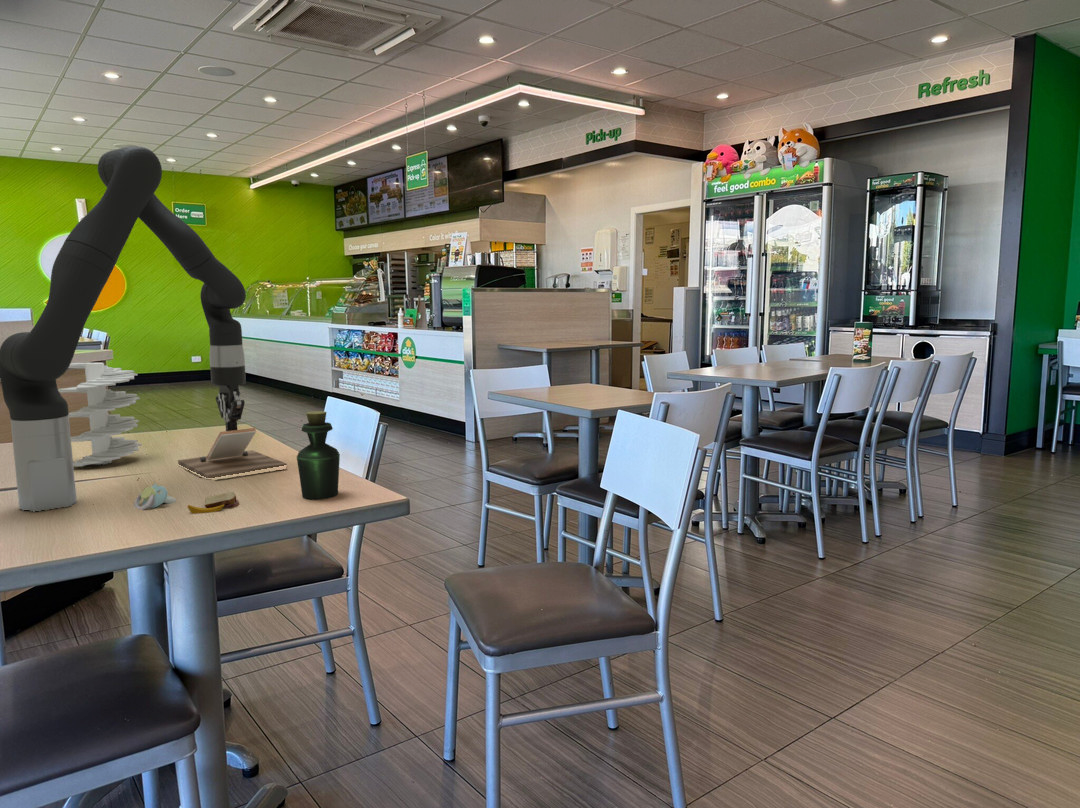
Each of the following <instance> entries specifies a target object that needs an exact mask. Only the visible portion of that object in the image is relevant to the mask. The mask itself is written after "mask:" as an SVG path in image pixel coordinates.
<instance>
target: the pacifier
mask: <svg viewBox="0 0 1080 808" xmlns="http://www.w3.org/2000/svg"><path fill="white" fill-rule="evenodd" d="M159 492H160V493H159ZM142 499H143V500H142ZM141 500H142V502H141V503H142V504H141V506H140V501H141ZM174 503H175V504H176V503H177V499H176V498H175V497H173V496H171V495H168V490H167V488H166V487H165V486H162V485H157V483H154V484H153V485H152V486H147V487H145V489H143V490H142V492H141V493H140V494H138V495H137V497H136V498H135V500H134V503H133V507H134V508H135V509H137V510H140V511H145V510H146V509H153V508H154V509H155V508H157V507H159V506H160V505H162V504H166V505H171V504H174Z"/></svg>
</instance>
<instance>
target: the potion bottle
mask: <svg viewBox="0 0 1080 808" xmlns="http://www.w3.org/2000/svg"><path fill="white" fill-rule="evenodd" d="M327 413H328V412H327V411H326V410H325V411H324V410H323V411H321V410H315V411H314V410H312V411H307V412H306V413H305V414H306V418H307V421H308V422H307V423H304V424H302V427H301V432H302V433H306V434H307V438H308V441H309V444H308V445H307V446H305V447H304V448H302V449H300V450H299V451H298V452H297V455H296V461H297V469H298V477H299V483H300V489H301V496H302V498H303V499H305V500H309V501H318V500H321V501H322V500H328V499H331V498H334V497H337V496H338V495H339V479H340V478H339V477H340V476H339V475H340V461H341V458H340V457H341V454H340V452H339V450H338V449H337V448H336V447H334V446H331V445H330V444H328V443H326V440H327V436H328V433H329V432H330V431H332V430H334V428H333V426H332V423H331V422H326V419H327V418H326V417H327Z"/></svg>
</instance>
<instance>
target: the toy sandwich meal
mask: <svg viewBox="0 0 1080 808" xmlns="http://www.w3.org/2000/svg"><path fill="white" fill-rule="evenodd" d="M239 505H240V501H239V500H238V499H237V494H236V493H235V492H234V491H228V492H225V493H220V494H214V495H211V496H207V497H205V501H204V507H199V506H195V505H194V506H193V505H190V504H188V505H187V510H188V512H190V513H191V514H195V515H196V514H206V513H208V514H209V513H218V512H221V511H222V510H223V509H225V508H227V509H229V508H230V509H231V508H233V509H234V508H237V507H238V506H239Z"/></svg>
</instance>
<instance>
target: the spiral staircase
mask: <svg viewBox="0 0 1080 808" xmlns="http://www.w3.org/2000/svg"><path fill="white" fill-rule="evenodd" d="M68 369H75V370H76V369H83V370H84V371H85V374H84V375H85V382H79V384H77V385H76V386H71V387H65V388H58V391H59V393H60V394H62V393H64V394H65V393H79V394H80V393H81V394H82V393H83V394H86V395H87V406H84V407H81V408H80V409H79V410H75V411H72V412H69V414H68V415H69V418H88V419H89V429H90V431H89V430H88V431H83V433H80V434H79V435H75V436H71V443H75V442H76V443H78V442H91V452H92V453H91V454H90V455H85V456H83V457H82V458H81V459H78V460H75V461H74V460H73V467H85V466H87V465H94V466H95V465H97V466H99V465H100V466H101V464H102V465H108V463H109V464H111V462H112V463H113V461H114V460H120V459H121V458H122V457H126V456H129V455H131V454H135V453H134V452H139V451H140V450H139V447H140V446H141V447H142V443H140V442H139V443H138V439H125V437H124V436H122V437H121V436H119V437H117V436H116V435H121V434H122V432H128V431H131V430H133V429H134V428H137V427H139V426H138V425H139V424H137V423H140V420H139V419H135V416H121V414H119V413H117V414H116V413H115V414H110V413H109V412H111V411H116V409H121V408H124V407H130V406H131V405H132V404H133V405H134V404H136V402H137V400H141V398H140V397H138V394H137V393H126V392H127V391H125V390H123V391H121V390H120V391H114V390H112V389H110V388H108V389H107V387H110V386H112V387H113V386H116V384H120V383H126V382H130V380H135V376H138V373H135V370H129V369H127V370H126V369H125V370H124V369H123V370H122V367H109V365H105V364H104V362H75V363H73V362H71V363H70V366H69V367H68ZM113 436H116V437H113Z"/></svg>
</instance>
